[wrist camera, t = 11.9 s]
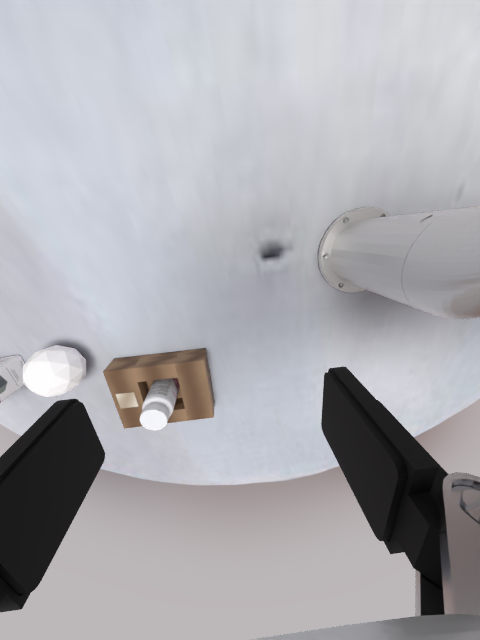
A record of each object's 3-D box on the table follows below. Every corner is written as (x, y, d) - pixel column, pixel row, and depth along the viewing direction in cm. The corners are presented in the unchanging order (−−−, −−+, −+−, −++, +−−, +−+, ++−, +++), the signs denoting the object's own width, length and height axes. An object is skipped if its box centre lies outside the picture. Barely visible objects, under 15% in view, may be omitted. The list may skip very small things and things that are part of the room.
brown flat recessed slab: (205, 348, 39) (203, 360, 35) (214, 401, 44) (213, 417, 40) (114, 358, 39) (102, 372, 35) (132, 411, 43) (123, 428, 39)
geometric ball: (68, 350, 40) (8, 357, 33) (92, 338, 37) (30, 342, 30) (76, 391, 39) (15, 407, 32) (101, 383, 36) (39, 398, 29)
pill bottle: (180, 395, 41) (170, 433, 33) (154, 394, 41) (137, 432, 33) (180, 373, 40) (169, 408, 32) (152, 372, 39) (135, 407, 31)
